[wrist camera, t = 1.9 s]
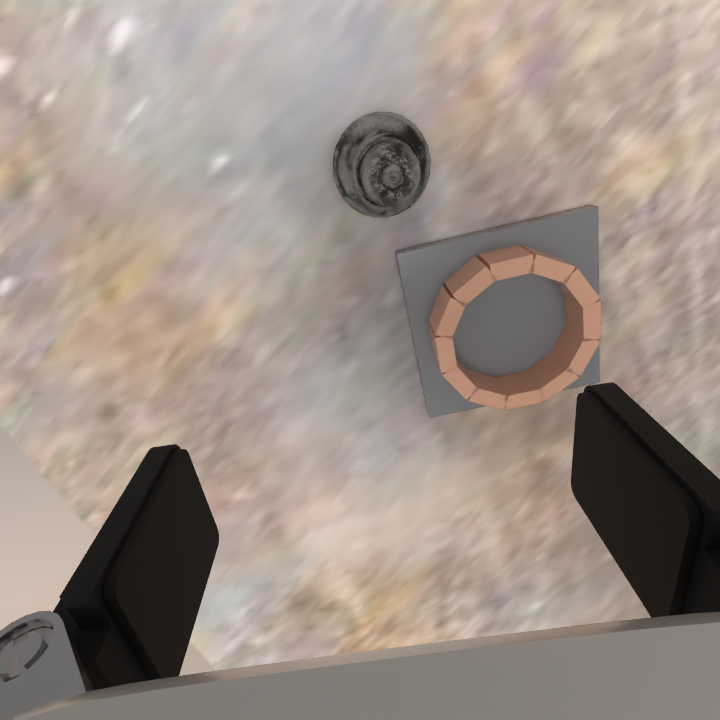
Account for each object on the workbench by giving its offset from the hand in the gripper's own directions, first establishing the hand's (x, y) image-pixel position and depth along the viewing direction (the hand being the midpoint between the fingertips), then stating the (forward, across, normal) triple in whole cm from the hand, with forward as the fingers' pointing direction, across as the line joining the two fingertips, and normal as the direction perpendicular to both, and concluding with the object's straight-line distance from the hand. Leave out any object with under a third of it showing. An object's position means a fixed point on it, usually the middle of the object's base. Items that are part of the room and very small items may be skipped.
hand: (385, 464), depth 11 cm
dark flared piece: (+25, -2, -5) cm, 25 cm away
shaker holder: (+25, -10, +7) cm, 28 cm away
